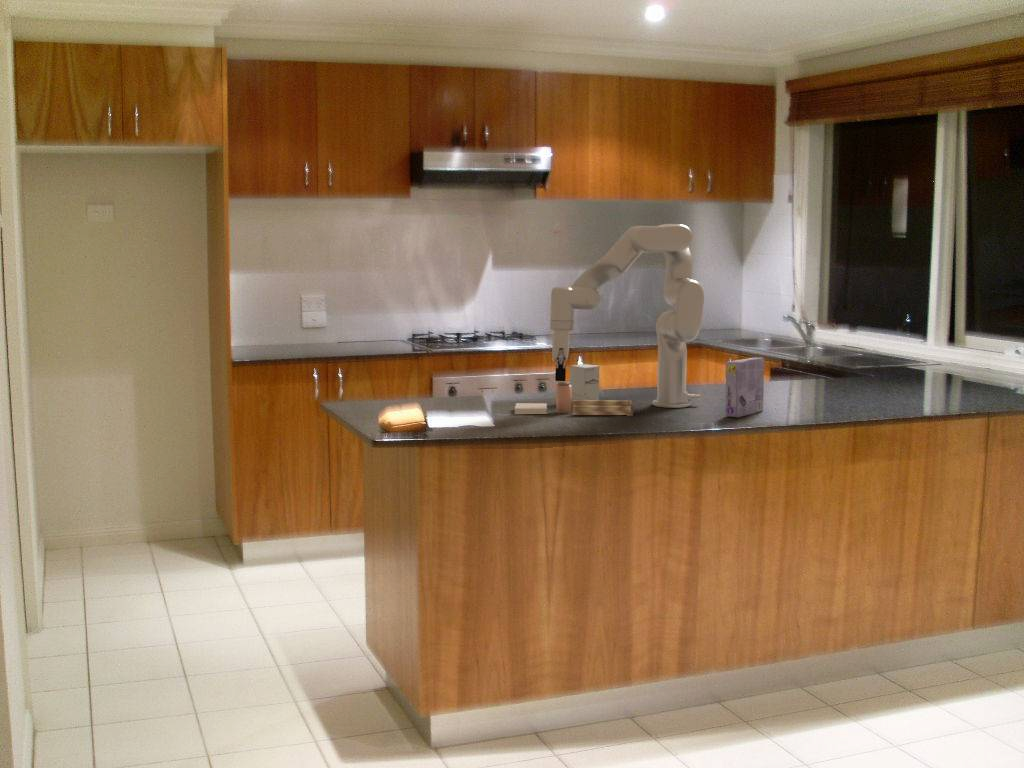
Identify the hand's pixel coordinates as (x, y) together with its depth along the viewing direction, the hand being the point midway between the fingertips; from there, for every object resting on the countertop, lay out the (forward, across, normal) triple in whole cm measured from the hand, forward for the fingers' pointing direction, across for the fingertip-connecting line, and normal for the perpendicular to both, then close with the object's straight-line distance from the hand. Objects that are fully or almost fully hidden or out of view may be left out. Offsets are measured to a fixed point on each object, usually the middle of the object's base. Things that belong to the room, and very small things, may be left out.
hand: (560, 378), depth 351 cm
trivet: (+11, 0, -9) cm, 14 cm away
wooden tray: (+11, 0, +14) cm, 17 cm away
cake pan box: (+10, 0, +59) cm, 60 cm away
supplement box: (+11, -20, +8) cm, 24 cm away
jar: (+11, 0, +2) cm, 11 cm away
